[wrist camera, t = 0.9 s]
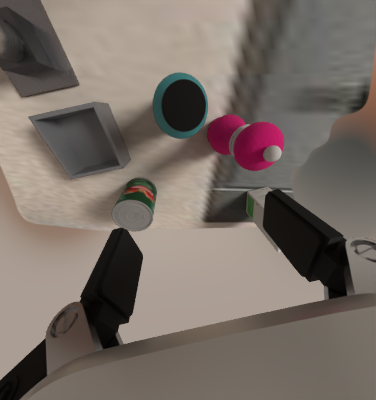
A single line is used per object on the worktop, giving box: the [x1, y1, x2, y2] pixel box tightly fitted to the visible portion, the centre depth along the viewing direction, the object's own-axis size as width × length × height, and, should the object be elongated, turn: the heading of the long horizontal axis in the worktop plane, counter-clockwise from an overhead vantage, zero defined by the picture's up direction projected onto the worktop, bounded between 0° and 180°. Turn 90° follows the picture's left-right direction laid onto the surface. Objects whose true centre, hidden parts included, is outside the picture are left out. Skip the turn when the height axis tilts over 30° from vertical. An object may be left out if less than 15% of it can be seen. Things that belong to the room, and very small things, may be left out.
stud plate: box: [0, 0, 80, 97], centre depth 21 cm, size 10×10×4 cm
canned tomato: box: [112, 178, 157, 231], centre depth 33 cm, size 8×8×11 cm
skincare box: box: [246, 187, 282, 252], centre depth 37 cm, size 8×7×16 cm
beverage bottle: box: [153, 73, 208, 139], centre depth 21 cm, size 6×7×20 cm
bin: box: [28, 102, 131, 179], centre depth 28 cm, size 11×11×6 cm
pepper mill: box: [207, 115, 284, 171], centre depth 24 cm, size 7×7×20 cm
